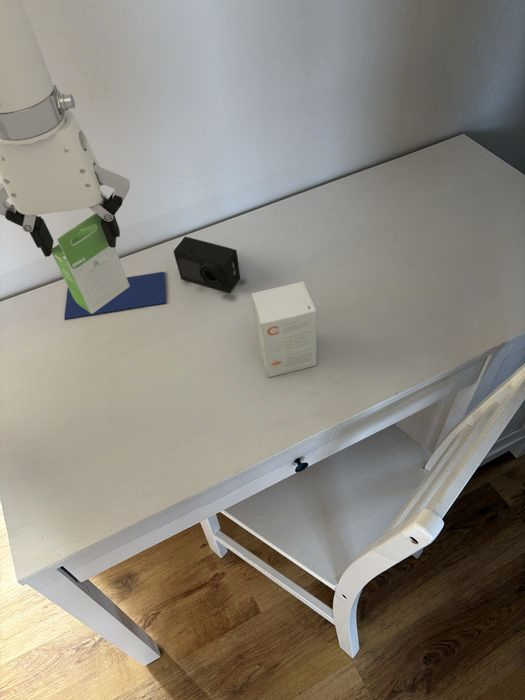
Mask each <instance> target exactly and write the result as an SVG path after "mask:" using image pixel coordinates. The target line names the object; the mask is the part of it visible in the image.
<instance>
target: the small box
mask: <svg viewBox="0 0 525 700" xmlns="http://www.w3.org/2000/svg"><path fill="white" fill-rule="evenodd" d="M251 302H252V308H253V315H254V323H255V331H256V337H257V344H258V350H259V352H260V355H261V359H262V363H263V365H264V368H265V371H266V372H265V373H266V374H267V375H266V376H267V377H268V378H272V377H277V376H279V375H285V374H288V373H291V372H297V371H300V370H304V369H307V368H311V367H316V366H317V355H318V354H317V349H318V348H317V309H316V307H315V304H314V302H313V301H312V298H311V296H310V293H309V291H308V289H307V286H306V284H305V282H304V281H303V280H302V281H298V282H294V283H290V284H285V285H281V286H277V287H273V288H269V289H265V290H261V291H255V292H252V293H251Z"/></svg>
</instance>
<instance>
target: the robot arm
mask: <svg viewBox="0 0 525 700" xmlns="http://www.w3.org/2000/svg"><path fill="white" fill-rule="evenodd" d="M25 7H26V6H25V5H24V2H23V0H0V180H1V183H0V216H4V218H5V219H6V221H9V222H11V223H13V224H15V225H17V226H20V227H22V231H24V232H25V233H29V235H30V236H31V238H32V240H33V242H34V244H35V246H36V248H38V249H40V250H41V252H42V253H43V256H44V257H45V258H47V257H50V256H52V255H53V254H52V252H51V249H52V248H54V238H53V236H52V234H51V232H50V230H49V228H48V226H47V223H46V222H45V220H44V218H43V217H42V216H40V215H45V214H53V213H61V212H68V211H76V210H82V209H88V208H89V209H90V210H91V211H92V212H94V214H95V213H96V214H98V215H99V216H100V217H101V226H102V229H103V231H104V234H105V237H106V239H107V242H108V244H109V247H111V248H113V247H115V248H116V247H117V245H116V244H117V238H120V236H121V230H120V226H119V223H118V221H117V218H116V213H117V212H118V211H119V209H120V208H121V207H122V205H123V203H124V200H125V199H126V196H127V194H128V193H129V191H130V186H131V185H130V183H131V182H130V179H128V178H127V177H124V176H122V175H120V174H118V173H115V172H114V171H113V172H112V171H110V170H109V169H106V168H104V167H101V166H100V165H99V164H100V163H99V162H98V160H97V158H96V154H95V153H94V150H93V148H92V146H91V144H90V142H89V140H88V138H87V136H86V134H85V132H84V129H82V126H81V124H80V123H79V121H78V119H77V118H76V116H75V114H74V113H73V112H72V110H71V109H75V108H76V101H75V100H74V96H73V94H72V93H69V94H65V93H61V92H60V90H58V87H57V85H56V84H54V82H53V80H52V77H51V74H50V71H49V68H48V65H47V63H46V61H45V58H44V55H43V53H42V50H41V47H40V45H39V42H38V39H37V36H36V33H35V32H34V29H33V26H32V24H31V21H30V18H29V15H28V13H27V9H26V8H25ZM69 109H70V110H69ZM101 186H107V187H109V188H111V189H113V191H112V193H111V194H110V196H109V197H108V196H107V195H106V194H105V193H104V192H103V191H101ZM8 199H9V200H10V202H11V203H12V204H10V202H8V201H7V200H8ZM38 215H39V216H38Z"/></svg>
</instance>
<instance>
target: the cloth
mask: <svg viewBox="0 0 525 700" xmlns="http://www.w3.org/2000/svg"><path fill="white" fill-rule="evenodd" d="M165 275H166V274H165V271H158V272H152V273H145V274H141V275H133V276H126V277H127V280H128V283H129V285H130V287H129V288H127V289H126V290H124V291H123V292H122V293H120V294H119V295H118V296H116V297H115V298H113V299H112V300H111V301H109V302H108V303H107V304H105V305H104V306H103V307H101V308H100V309H98V310H97V311H96V312H94V313H93V314H91V313H89V312H88V311H87V310H86V309H84V308H83V307H81V306H80V305H78V304H77V303H76V301H75V300H74V298H73V296H72V294H71V292H70V290H69V288H68V287H67V289H66V290H67V291H66V298H65V307H64V316H63V317H64V318H63V319H64V320H65V321H67V320H74V319H79V318H85V317H92V316H98V315H99V316H100V315H103V314H104V315H105V314H110V313H111V314H112V313H116V312H123V311H129V310H134V309H135V310H136V309H141V308H147V307H154V306H161V305H166V304H167V296H166V276H165Z"/></svg>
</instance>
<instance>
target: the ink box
mask: <svg viewBox="0 0 525 700" xmlns="http://www.w3.org/2000/svg"><path fill="white" fill-rule="evenodd" d="M56 241H57V245H55V246H53V248H52V249H51V252H52V254H51V255H52V256H53V258H54V261H55V263H56V264H57V267H58V269H59V271H60V273H61V275H62V277H63V279H64V282H65V284H66V287H67V289H68V288H69V290H70V292H71V294H72V296H73V298H74V300H75V301H76V303H77V304H78V305H80V306H81V307H83V308H84V309H86V310H87V311H88V312H89V313H91V314H93V313H94V312H96V311H97V310H98V309H100V308H101V307H103V306H104V305H105V304H107V303H108V302H109V301H111V300H112V299H113V298H115V297H116V296H118V295H119V294H120V293H122V292H123V291H124V290H126V289H127V288H129V287H130V285H129V283H128V280H127V277H128V276H127V275H126V272H125V270H124V267H123V265H122V261H121V259H120V257H119V254H118V251H117V248H116V247H113V248H111V247H109V244H108V242H107V239H106V237H105V234H104V231H103V229H102V226H101V217H100V216H99V215H98V214H96V213H95V212H94V214H92V215H90V216H89V217H87V218H86V219H85V220H83V221H82V222H80V223H78V224H77V225H76V226H74V227H72V228H71V229H69V230H68V231H67V232H65V233H64V234H62V235H61V236H59V237H57V238H56Z"/></svg>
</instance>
